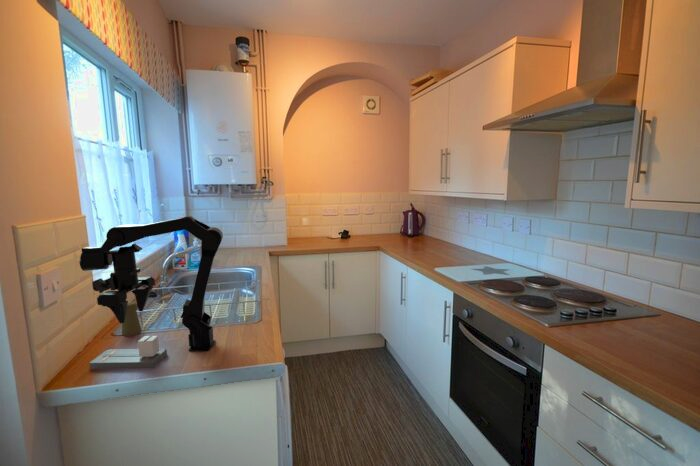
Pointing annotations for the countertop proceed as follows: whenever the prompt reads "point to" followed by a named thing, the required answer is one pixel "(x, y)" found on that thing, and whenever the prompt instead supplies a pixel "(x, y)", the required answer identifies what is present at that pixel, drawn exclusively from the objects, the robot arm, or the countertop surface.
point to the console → (126, 359)
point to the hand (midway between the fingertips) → (131, 316)
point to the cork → (131, 320)
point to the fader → (148, 346)
